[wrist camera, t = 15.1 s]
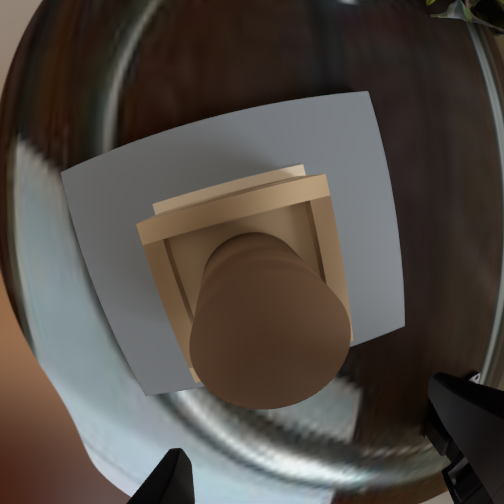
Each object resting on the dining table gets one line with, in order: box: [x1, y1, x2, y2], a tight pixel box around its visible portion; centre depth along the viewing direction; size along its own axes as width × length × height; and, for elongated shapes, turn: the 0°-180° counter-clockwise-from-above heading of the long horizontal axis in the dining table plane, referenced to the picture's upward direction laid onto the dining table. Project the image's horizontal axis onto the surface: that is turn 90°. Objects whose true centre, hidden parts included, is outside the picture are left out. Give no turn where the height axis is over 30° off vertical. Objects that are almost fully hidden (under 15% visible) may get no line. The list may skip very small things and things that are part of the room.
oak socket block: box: [136, 174, 353, 383], centre depth 13 cm, size 7×7×5 cm
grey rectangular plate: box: [61, 91, 405, 396], centre depth 16 cm, size 18×15×1 cm
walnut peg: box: [189, 232, 351, 409], centre depth 9 cm, size 4×4×5 cm
